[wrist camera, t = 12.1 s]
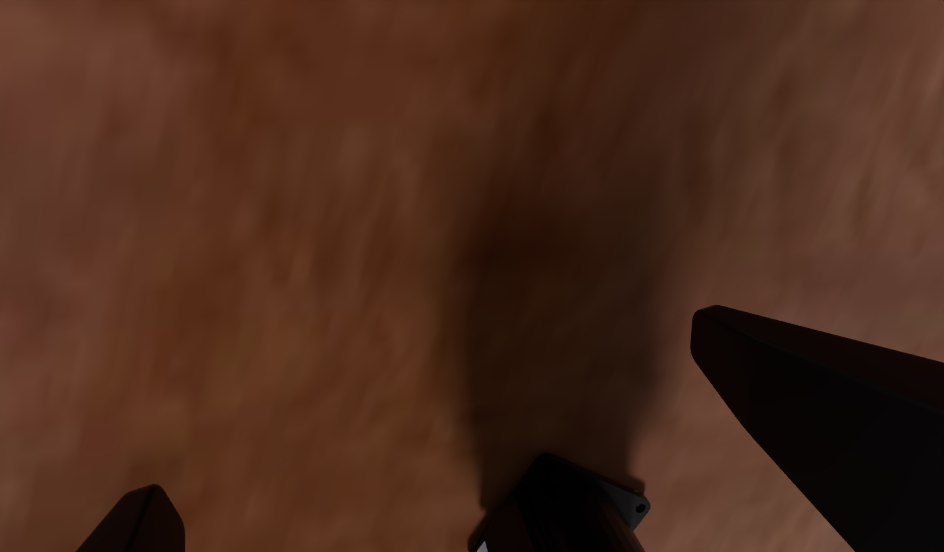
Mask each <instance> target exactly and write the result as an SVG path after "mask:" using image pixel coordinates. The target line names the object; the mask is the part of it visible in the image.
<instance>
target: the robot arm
mask: <svg viewBox="0 0 944 552" xmlns="http://www.w3.org/2000/svg"><path fill="white" fill-rule="evenodd" d="M690 349H691V354H692V357H693V359H694V361H695V362H696V364H697V365H698V366H699V368H700V369H701V370H702V372H703V373H704V375H705V376H706V377H707V379H708V380H709V381H710V383H711V384H712V385H713V387H714V388H715V389H716V391H717V392H718V394H719V395H720V396H721V398H722V399H723V400H724V402H725V403H726V404H727V406H728V407H729V409H730V410H731V411H732V413H733V414H734V415H735V417H736V418H737V419H738V421H739V422H740V423H741V424H742V426H743V427H744V428H745V429H746V431H747V432H748V433H749V434H750V435H751V436H752V438H753V439H754V440H755V441H756V442H757V443H758V444H759V445H760V446H761V448H762V449H763V450H764V451H765V452H766V453H767V454H768V455H769V457H770V458H771V459H772V460H773V461H774V462H775V463H776V464H777V465H778V467H779V468H780V469H781V470H782V471H783V472H784V473H785V474H786V475H787V477H788V478H789V479H790V480H791V481H792V482H793V483H794V484H795V485H796V487H797V488H798V489H799V490H800V491H801V492H802V493H803V494H804V495H805V497H806V498H807V499H808V500H809V501H810V502H811V503H812V504H813V505H814V507H815V508H816V509H817V510H818V511H819V512H820V513H821V514H822V515H823V517H824V518H825V519H826V520H827V521H828V522H829V523H830V524H831V525H832V527H833V528H834V529H835V530H836V531H837V532H838V533H839V534H840V535H841V537H842V538H843V539H844V540H845V541H846V542H847V543H848V544H849V545H850V547H851V548H852V549H853V550H854V551H855V552H944V363H943V362H939V361H935V360H931V359H927V358H924V357H920V356H916V355H912V354H908V353H904V352H900V351H896V350H892V349H888V348H884V347H881V346H877V345H873V344H869V343H865V342H861V341H857V340H853V339H849V338H845V337H841V336H837V335H834V334H830V333H826V332H822V331H818V330H814V329H810V328H806V327H802V326H798V325H795V324H791V323H787V322H783V321H779V320H775V319H771V318H767V317H763V316H759V315H755V314H752V313H748V312H744V311H740V310H736V309H732V308H728V307H724V306H720V305H713V306H709V307H706V308H703V309H700V310H698V311H696V312H695V313H694V315H693V319H692V331H691V343H690ZM546 464H550V465H549V466H548V467H544V466H545V465H546ZM638 505H639V506H638ZM649 510H650V503H649V501H648V500H647V498H646V497H645V496H644V495H643V494H641V493H638V492H636V491H634V490H632V489H629V488H627V487H625V486H623V485H621V484H618V483H616V482H614V481H612V480H609V479H607V478H605V477H603V476H600V475H598V474H596V473H594V472H591V471H589V470H587V469H585V468H582V467H580V466H578V465H576V464H574V463H571V462H569V461H567V460H565V459H562V458H560V457H558V456H556V455H553V454H550V453H545V454H542V455H540V456H539V457H538V458H537V459H536V460H535V462H534V463H533V465H532V466H531V467H530V469H529V470H528V472H527V473H526V474H525V476H524V477H523V479H522V480H521V481H520V483H519V484H518V486H517V487H516V488H515V490H514V491H513V492H512V493H511V494H510V496H509V497H508V498H507V500H506V501H505V503H504V504H503V505H502V507H501V508H500V510H499V511H498V512H497V514H496V515H495V517H494V518H493V519H492V521H491V522H490V523H489V525H488V526H487V528H486V529H485V530H484V532H483V534H482V536H481V537H480V538H479V540H478V541H477V543H476V544H475V545H474V547H473V548H472V550H471V551H470V552H645V550H644V549H643V547H642V545H641V544H640V542H639V541H638V539H637V537H636V536H635V534H634V532H633V531H634V529H635V528H636V527H637V526H638V524H639V523H640V522H641V520H642V519H643V518H644V517H645V515H646V514H647V513H648V511H649ZM76 552H185V529H184V524H183V521H182V519H181V517H180V515H179V514H178V512H177V510H176V509H175V507H174V506H173V504H172V502H171V501H170V499H169V497H168V496H167V494H166V493H165V491H164V489H163V488H162V487H161V486H159V485H157V484H151V485H148V486H145V487H142V488H139V489H136V490H132V491H130V492H128V493H126V494H125V495H124V496H123V497H122V498H121V499H120V500H119V501H118V502H117V504H116V505H115V506H114V507H113V508H112V509H111V511H110V512H109V513H108V514H107V515H106V516H105V518H104V519H103V520H102V521H101V522H100V524H99V525H98V526H97V527H96V528H95V529H94V531H93V532H92V533H91V534H90V535H89V536H88V538H87V539H86V540H85V541H84V542H83V543H82V545H81V546H80V547H79V548H78V549H77V551H76Z"/></svg>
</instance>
